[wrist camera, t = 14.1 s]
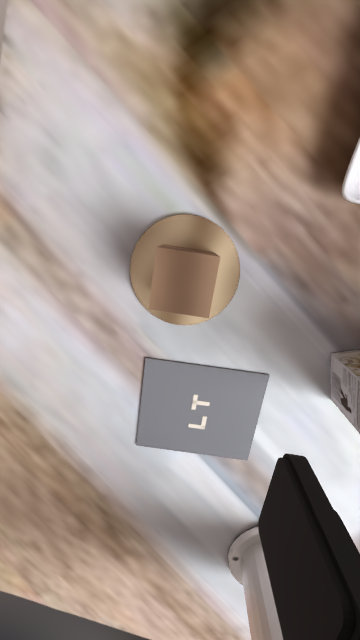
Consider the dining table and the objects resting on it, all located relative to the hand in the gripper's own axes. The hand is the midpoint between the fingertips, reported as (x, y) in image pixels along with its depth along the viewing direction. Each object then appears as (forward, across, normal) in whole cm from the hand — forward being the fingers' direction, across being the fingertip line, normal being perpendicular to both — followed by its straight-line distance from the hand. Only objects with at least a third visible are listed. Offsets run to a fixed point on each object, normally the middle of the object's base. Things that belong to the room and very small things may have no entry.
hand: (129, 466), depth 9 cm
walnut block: (+21, -1, -4) cm, 21 cm away
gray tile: (+21, -5, +12) cm, 25 cm away
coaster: (+21, -1, -4) cm, 21 cm away
